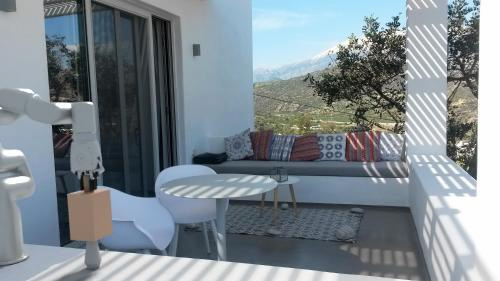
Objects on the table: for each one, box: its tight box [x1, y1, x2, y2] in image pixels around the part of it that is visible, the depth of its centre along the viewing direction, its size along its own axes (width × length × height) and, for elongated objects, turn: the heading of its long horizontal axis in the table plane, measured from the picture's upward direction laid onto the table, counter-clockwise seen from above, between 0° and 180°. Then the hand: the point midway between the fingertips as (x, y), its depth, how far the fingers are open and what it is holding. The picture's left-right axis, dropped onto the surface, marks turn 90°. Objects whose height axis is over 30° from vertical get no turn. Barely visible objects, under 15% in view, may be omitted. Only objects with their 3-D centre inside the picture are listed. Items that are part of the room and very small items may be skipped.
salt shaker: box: [83, 240, 103, 270], centre depth 155 cm, size 6×6×13 cm
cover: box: [66, 173, 114, 242], centre depth 154 cm, size 10×10×22 cm
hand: (88, 189), depth 153 cm, fingers closed on cover, 3 cm apart
